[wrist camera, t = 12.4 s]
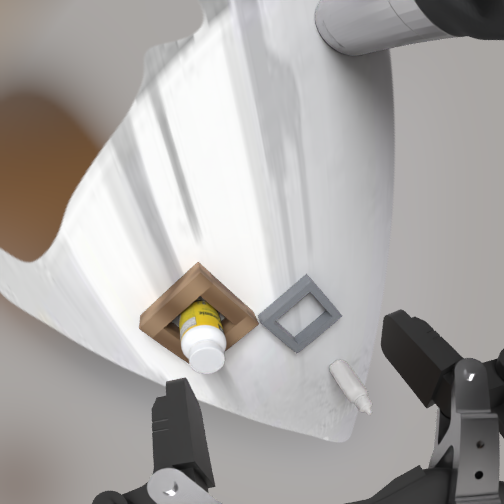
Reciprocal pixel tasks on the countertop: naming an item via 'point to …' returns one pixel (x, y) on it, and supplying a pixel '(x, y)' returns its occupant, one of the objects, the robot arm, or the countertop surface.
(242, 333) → the socket block
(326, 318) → the holder
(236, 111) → the countertop surface
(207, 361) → the supplement bottle
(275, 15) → the countertop surface
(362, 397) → the eye dropper bottle
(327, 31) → the robot arm
